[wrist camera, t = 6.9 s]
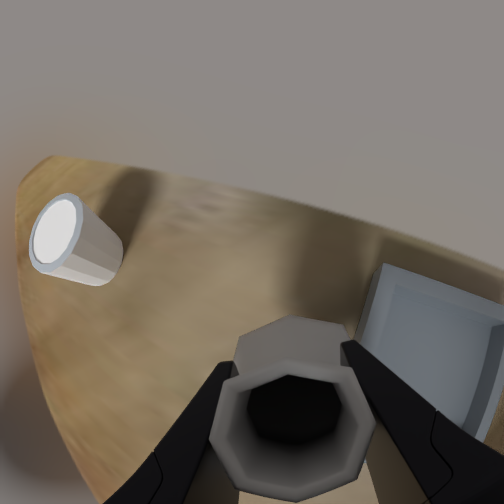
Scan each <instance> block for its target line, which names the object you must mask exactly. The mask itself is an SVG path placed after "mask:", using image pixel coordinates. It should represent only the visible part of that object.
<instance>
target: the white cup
mask: <svg viewBox="0 0 504 504" xmlns="http://www.w3.org/2000/svg"><path fill="white" fill-rule="evenodd" d="M29 256H30V259H31V262H32V265H33V267H35V268H36V269H37V270H38V271H39V272H41V273H44V274H48V275H52V276H56V277H59V278H63V279H67V280H71V281H75V282H79V283H83V284H88V285H92V286H101V285H103V284H105V283H108V282H109V281H110V280H111V279H112V278H113V277H114V276H115V275H116V274H117V272H118V270H119V268H120V265H121V263H122V258H123V246H122V241H121V240H120V238H119V237H118V236H117V234H116V233H115V232H114V231H113V230H112V229H110V228H109V227H108V226H107V225H106V224H105V223H104V222H103V221H102V220H101V219H100V218H99V217H98V216H97V215H96V214H95V213H94V212H93V211H92V210H91V209H90V208H89V207H88V206H87V205H86V204H85V203H84V202H83V201H82V200H81V199H80V198H79V197H78V196H76V195H73V194H71V193H66V194H61V195H58V196H57V197H55V198H54V199H53V200H51V201H50V202H49V203H48V204H47V205H46V206H45V207H44V209H43V210H42V211H41V212H40V214H39V216H38V218H37V220H36V222H35V224H34V226H33V229H32V232H31V236H30V240H29Z"/></svg>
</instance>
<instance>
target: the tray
mask: <svg viewBox="0 0 504 504" xmlns="http://www.w3.org/2000/svg"><path fill="white" fill-rule="evenodd" d="M353 340H356V341H357V342H358V343H359V344H361V345H362V346H363V347H364V348H365V349H367V350H368V351H369V352H370V353H371V354H372V355H374V356H375V357H376V358H377V359H378V360H380V361H381V362H382V363H383V364H384V365H385V366H387V367H388V368H389V369H390V370H391V371H393V372H394V373H395V374H396V375H397V376H398V377H400V378H401V379H402V380H403V381H404V382H406V383H407V384H408V385H409V386H410V387H411V388H413V389H414V390H415V391H416V392H417V393H419V394H420V395H421V396H422V397H423V398H424V399H426V400H427V401H428V402H429V403H430V404H432V405H433V406H434V407H435V408H436V411H437V410H439V411H440V412H441V413H442V414H443V415H445V416H446V417H447V418H448V419H450V420H451V421H452V422H453V423H455V424H456V425H457V426H458V427H460V428H461V429H462V430H464V431H465V432H467V433H468V434H470V435H471V436H473V437H474V438H476V439H477V440H479V441H481V442H482V443H483V441H484V439H485V437H486V434H487V432H488V430H489V427H490V425H491V422H492V419H493V417H494V414H495V411H496V408H497V405H498V402H499V399H500V396H501V393H502V390H503V386H504V305H501V304H498V303H496V302H493V301H491V300H488V299H485V298H483V297H480V296H477V295H475V294H472V293H469V292H467V291H464V290H461V289H458V288H456V287H453V286H450V285H447V284H445V283H442V282H439V281H436V280H433V279H430V278H428V277H425V276H422V275H419V274H416V273H413V272H410V271H408V270H405V269H402V268H399V267H396V266H393V265H390V264H387V263H384V262H383V264H382V265H381V266H380V267H379V268H378V269H377V270H376V271H375V272H374V274H373V277H372V281H371V284H370V288H369V291H368V295H367V298H366V302H365V305H364V308H363V312H362V315H361V318H360V321H359V324H358V327H357V330H356V333H355V336H354V339H353ZM364 463H367V462H366V459H365V460H364Z"/></svg>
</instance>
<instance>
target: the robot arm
mask: <svg viewBox="0 0 504 504" xmlns="http://www.w3.org/2000/svg"><path fill="white" fill-rule="evenodd" d="M340 365H341V366H345V367H351V368H352V369H353V371H354V373H355V376H356V378H357V380H358V382H359V385H360V387H361V389H362V391H363V394H364V396H365V398H366V400H367V403H368V405H369V407H370V410H371V412H372V414H373V417H374V419H375V421H376V427H375V430H374V434H373V437H372V440H371V443H370V446H369V449H368V452H367V455H366V457H365V459H366V462H367V466H368V469H369V472H370V475H371V478H372V482H373V485H374V488H375V492H376V495H377V498H378V502H379V504H504V455H502V454H500V453H499V452H497V451H495V450H494V449H492V448H490V447H489V446H487V445H486V444H484V443H482V442H481V441H479V440H477V439H476V438H474V437H473V436H471V435H470V434H468V433H467V432H465V431H464V430H462V429H461V428H460V427H458V426H457V425H456V424H455V423H453V422H452V421H451V420H450V419H448V418H447V417H446V416H445V415H443V414H442V413H441V412H440V411H439V410H437V411H436V408H435V407H434V406H433V405H432V404H430V403H429V402H428V401H427V400H426V399H424V398H423V397H422V396H421V395H420V394H419V393H417V392H416V391H415V390H414V389H413V388H411V387H410V386H409V385H408V384H407V383H406V382H404V381H403V380H402V379H401V378H400V377H398V376H397V375H396V374H395V373H394V372H393V371H391V370H390V369H389V368H388V367H387V366H385V365H384V364H383V363H382V362H381V361H380V360H378V359H377V358H376V357H375V356H374V355H372V354H371V353H370V352H369V351H368V350H367V349H365V348H364V347H363V346H362V345H361V344H359V343H358V342H357V341H356V340H348V341H344V342H341V343H340ZM238 375H239V372H238V369H237V367H236V364H235V363H234V361H223V362H220V363H218V364H217V366H216V367H215V369H214V370H213V371H212V373H211V374H210V376H209V377H208V378H207V380H206V381H205V382H204V384H203V385H202V387H201V388H200V389H199V391H198V392H197V393H196V395H195V396H194V397H193V399H192V400H191V401H190V403H189V404H188V405H187V407H186V408H185V409H184V411H183V412H182V413H181V415H180V416H179V417H178V419H177V420H176V421H175V423H174V424H173V425H172V427H171V428H170V429H169V431H168V432H167V433H166V435H165V436H164V437H163V438H162V440H161V441H160V442H159V444H158V445H157V446H156V447H155V449H154V452H151V454H150V455H149V456H148V457H147V459H146V460H145V461H144V462H143V464H142V465H141V466H140V467H139V468H138V469H137V471H136V472H135V473H134V474H133V475H132V476H131V477H130V478H129V479H128V480H127V481H126V482H125V483H124V484H123V485H122V486H121V487H120V488H119V489H118V490H117V491H116V492H115V493H114V494H113V495H112V496H111V497H110V498H109V499H107V500H106V501H105V502H104V503H103V504H238V501H239V490H235V489H234V487H233V486H232V484H231V482H230V480H229V478H228V476H227V474H226V473H225V471H224V469H223V467H222V465H221V463H220V461H219V459H218V457H217V455H216V453H215V451H214V449H213V447H212V445H211V443H210V441H209V436H210V432H211V429H212V425H213V421H214V417H215V413H216V409H217V405H218V401H219V398H220V394H221V390H222V386H223V382H224V381H225V380H228V379H230V378H233V377H236V376H238Z"/></svg>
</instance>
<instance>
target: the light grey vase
mask: <svg viewBox="0 0 504 504" xmlns="http://www.w3.org/2000/svg"><path fill="white" fill-rule="evenodd" d="M348 340H350V338H349V336H348V334H347V332H346V329H345V327H344V325H343V324H337V323H332V322H326V321H321V320H316V319H310V318H305V317H300V316H295V315H290V314H289V315H287V316H285V317H283V318H281V319H278V320H276V321H274V322H272V323H269V324H267V325H265V326H263V327H260V328H258V329H256V330H254V331H251V332H249V333H247V334H244V335H242V336H240V337H239V340H238V343H237V347H236V351H235V355H234V359H233V361H234V363H235V364H236V367H237V369H238V372H239V375H238V376H236V377H233V378H230V379H228V380H225V381H224V382H223V386H222V390H221V394H220V398H219V401H218V405H217V409H216V413H215V417H214V421H213V425H212V429H211V432H210V436H209V441H210V443H211V445H212V447H213V449H214V451H215V453H216V455H217V457H218V459H219V461H220V463H221V465H222V467H223V469H224V471H225V473H226V474H227V476H228V478H229V480H230V482H231V484H232V486H233V487H234V489H235V490H239V491H243V492H246V493H250V494H255V495H259V496H263V497H268V498H273V499H278V500H283V501H289V502H295V503H297V502H300V501H303V500H306V499H309V498H312V497H315V496H318V495H321V494H323V493H326V492H329V491H331V490H334V489H336V488H339V487H341V486H343V485H346V484H348V483H350V482H353V481H355V480H357V478H358V476H359V473H360V471H361V468H362V465H363V463H364V460H365V457H366V455H367V452H368V449H369V446H370V443H371V440H372V437H373V434H374V430H375V427H376V421H375V419H374V417H373V414H372V412H371V410H370V407H369V405H368V403H367V400H366V398H365V396H364V394H363V391H362V389H361V387H360V385H359V382H358V380H357V378H356V376H355V373H354V371H353V369H352V368H351V367H345V366H341V365H340V343H341V342H344V341H348Z"/></svg>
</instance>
